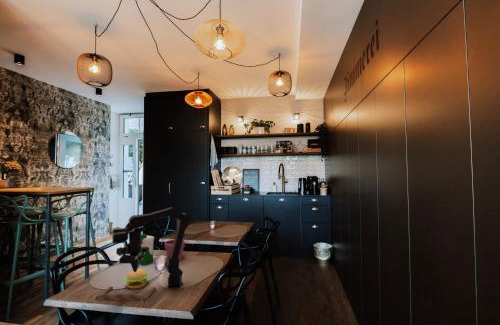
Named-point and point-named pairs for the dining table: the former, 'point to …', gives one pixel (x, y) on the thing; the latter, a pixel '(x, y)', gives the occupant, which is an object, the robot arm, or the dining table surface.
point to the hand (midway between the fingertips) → (135, 271)
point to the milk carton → (149, 243)
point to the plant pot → (170, 244)
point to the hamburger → (136, 278)
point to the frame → (123, 295)
